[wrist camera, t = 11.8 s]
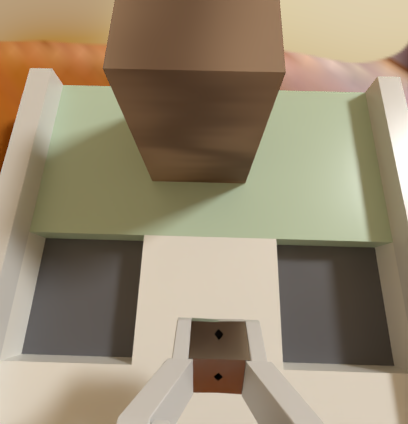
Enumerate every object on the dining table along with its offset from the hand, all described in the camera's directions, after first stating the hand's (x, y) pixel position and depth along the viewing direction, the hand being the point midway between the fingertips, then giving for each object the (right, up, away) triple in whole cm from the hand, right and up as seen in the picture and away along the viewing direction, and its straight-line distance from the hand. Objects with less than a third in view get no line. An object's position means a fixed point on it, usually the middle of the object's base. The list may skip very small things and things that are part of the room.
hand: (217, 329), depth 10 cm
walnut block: (-1, +9, +8) cm, 12 cm away
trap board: (0, -1, +7) cm, 7 cm away
